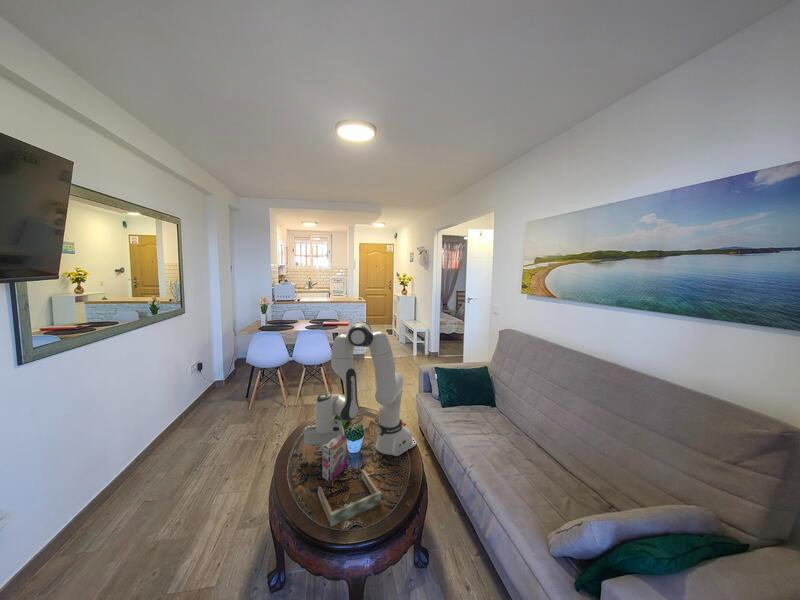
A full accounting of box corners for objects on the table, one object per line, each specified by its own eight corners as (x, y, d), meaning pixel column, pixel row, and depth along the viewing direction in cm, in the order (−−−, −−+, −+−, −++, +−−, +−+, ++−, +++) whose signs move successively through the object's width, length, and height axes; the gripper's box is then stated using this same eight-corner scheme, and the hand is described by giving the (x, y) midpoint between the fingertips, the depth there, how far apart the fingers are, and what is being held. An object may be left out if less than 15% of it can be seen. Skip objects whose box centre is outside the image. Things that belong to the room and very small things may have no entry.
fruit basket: (344, 428, 176) (344, 411, 174) (330, 426, 177) (330, 409, 176) (351, 418, 187) (351, 401, 185) (338, 416, 188) (338, 400, 187)
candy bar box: (329, 482, 134) (329, 449, 132) (322, 478, 137) (321, 445, 134) (347, 468, 143) (347, 437, 141) (339, 464, 146) (339, 433, 143)
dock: (363, 477, 138) (363, 467, 137) (381, 503, 124) (381, 492, 123) (317, 495, 127) (317, 484, 126) (331, 526, 112) (331, 515, 112)
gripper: (302, 430, 145) (302, 456, 148) (344, 427, 149) (344, 452, 151) (303, 423, 152) (304, 448, 154) (344, 420, 155) (344, 444, 157)
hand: (324, 450), depth 152 cm, fingers closed
